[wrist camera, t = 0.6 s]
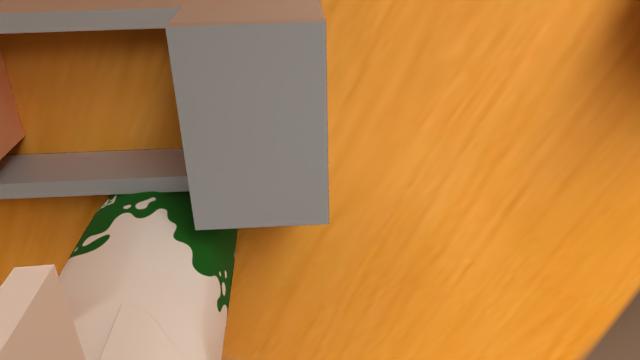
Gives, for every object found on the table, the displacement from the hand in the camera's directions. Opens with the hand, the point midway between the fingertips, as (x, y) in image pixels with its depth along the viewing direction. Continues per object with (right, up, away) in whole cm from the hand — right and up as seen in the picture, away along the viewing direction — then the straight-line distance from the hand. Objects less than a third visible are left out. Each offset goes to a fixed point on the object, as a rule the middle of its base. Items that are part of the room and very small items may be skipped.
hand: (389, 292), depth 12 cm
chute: (-14, +8, +23) cm, 28 cm away
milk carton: (-12, 0, +28) cm, 30 cm away
